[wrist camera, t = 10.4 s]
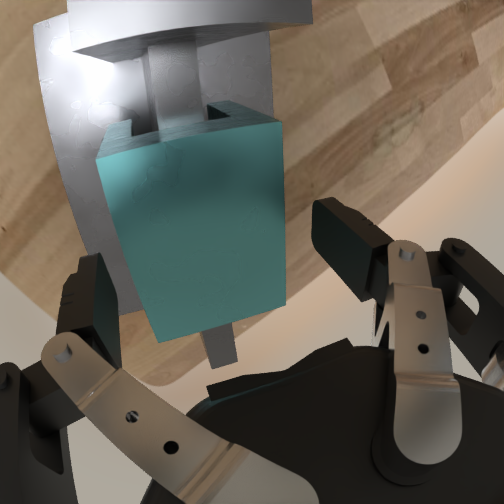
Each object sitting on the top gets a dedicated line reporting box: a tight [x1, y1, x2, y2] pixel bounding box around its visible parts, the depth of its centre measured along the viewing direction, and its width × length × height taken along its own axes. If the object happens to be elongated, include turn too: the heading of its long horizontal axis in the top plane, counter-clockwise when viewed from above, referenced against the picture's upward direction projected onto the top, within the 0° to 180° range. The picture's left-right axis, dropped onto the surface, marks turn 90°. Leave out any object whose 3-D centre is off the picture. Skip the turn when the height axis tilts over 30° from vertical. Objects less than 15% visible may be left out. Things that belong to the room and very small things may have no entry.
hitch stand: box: [33, 0, 313, 369], centre depth 15 cm, size 14×22×14 cm, turn 4°
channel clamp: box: [96, 100, 286, 343], centre depth 14 cm, size 8×6×6 cm
